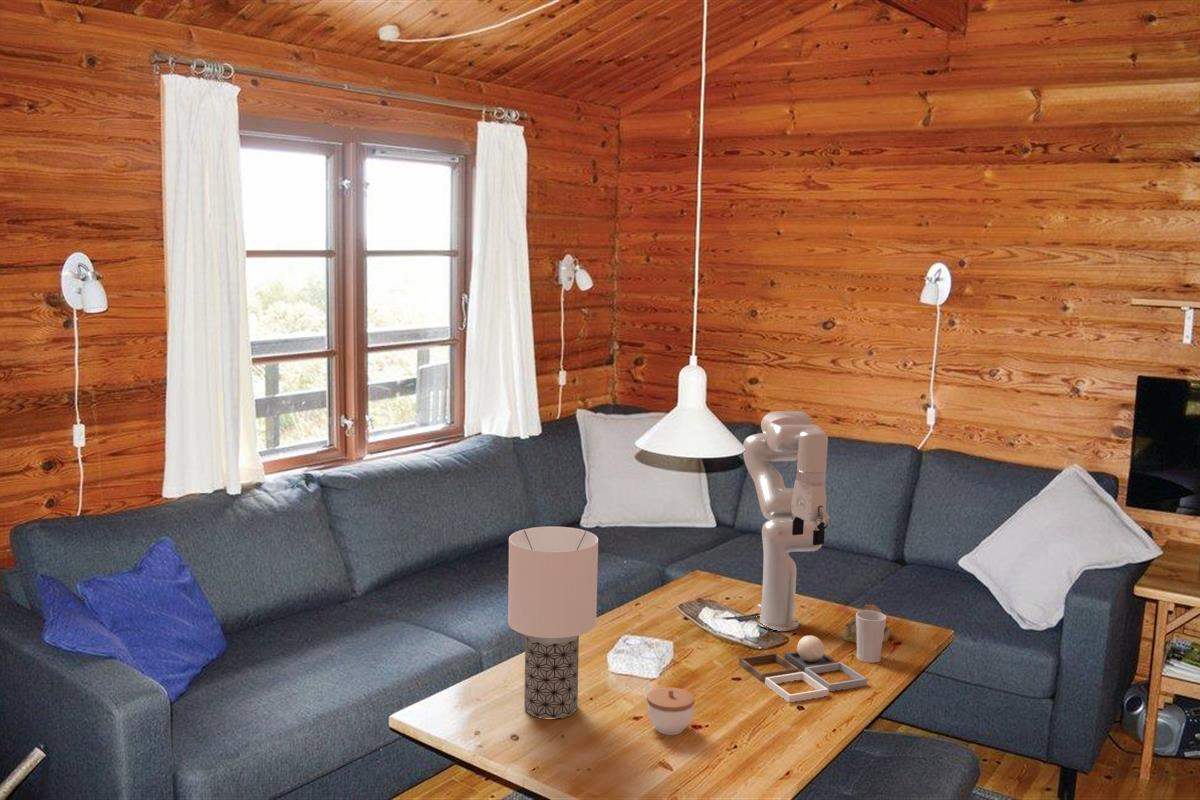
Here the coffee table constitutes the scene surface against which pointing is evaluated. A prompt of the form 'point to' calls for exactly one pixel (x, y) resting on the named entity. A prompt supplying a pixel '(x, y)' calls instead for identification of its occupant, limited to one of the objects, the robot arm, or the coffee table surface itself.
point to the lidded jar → (670, 709)
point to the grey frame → (857, 682)
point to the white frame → (817, 693)
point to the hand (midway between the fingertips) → (807, 539)
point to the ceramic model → (852, 628)
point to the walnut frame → (765, 658)
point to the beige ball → (810, 648)
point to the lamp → (552, 611)
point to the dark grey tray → (802, 664)
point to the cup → (869, 635)
